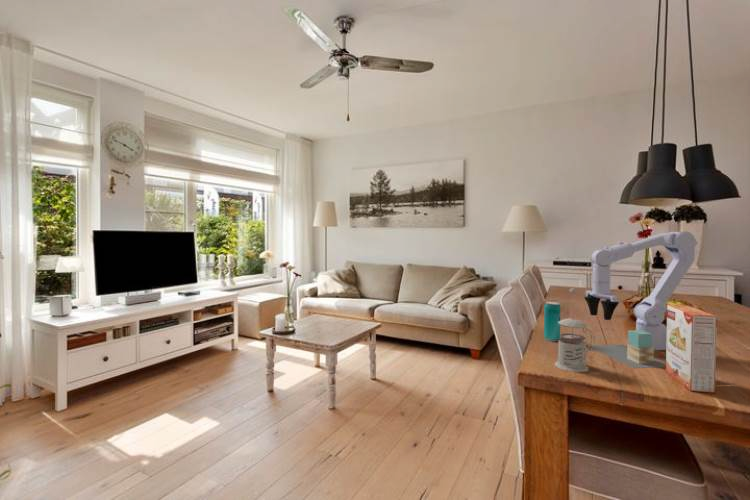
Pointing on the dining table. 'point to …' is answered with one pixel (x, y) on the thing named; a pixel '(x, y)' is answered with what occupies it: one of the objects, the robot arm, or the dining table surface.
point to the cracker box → (691, 347)
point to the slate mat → (625, 356)
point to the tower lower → (640, 358)
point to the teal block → (639, 338)
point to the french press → (572, 346)
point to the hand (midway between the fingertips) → (600, 317)
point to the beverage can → (552, 321)
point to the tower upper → (640, 351)
